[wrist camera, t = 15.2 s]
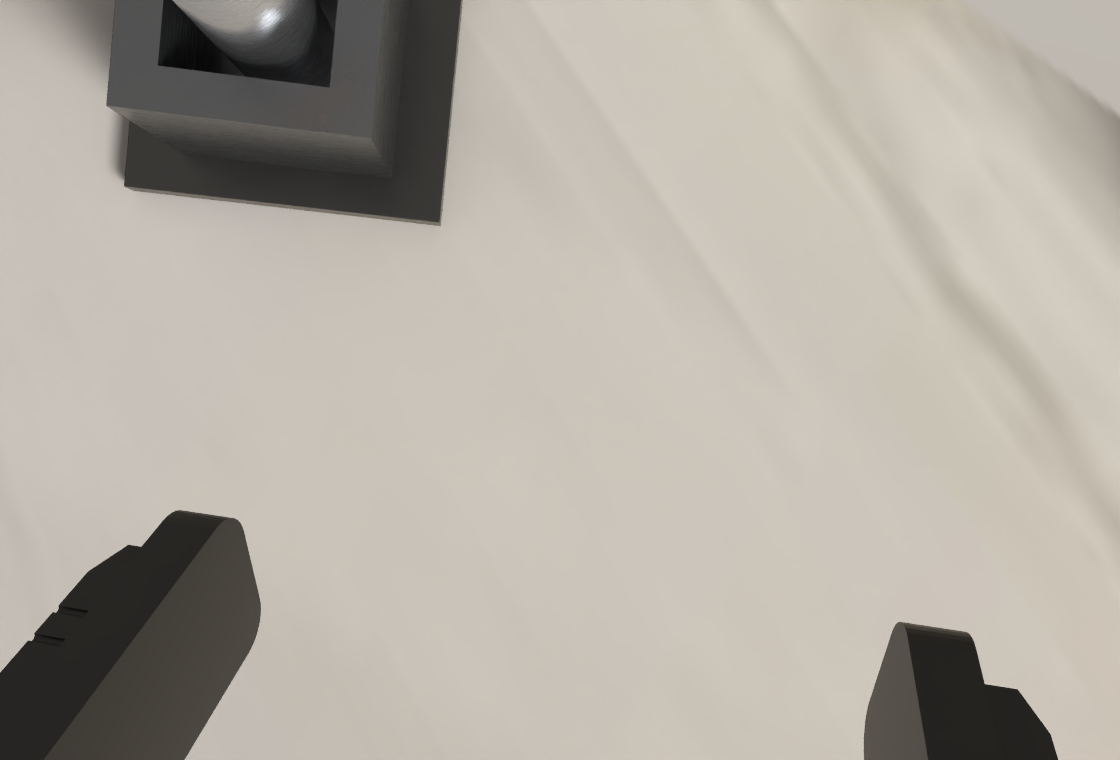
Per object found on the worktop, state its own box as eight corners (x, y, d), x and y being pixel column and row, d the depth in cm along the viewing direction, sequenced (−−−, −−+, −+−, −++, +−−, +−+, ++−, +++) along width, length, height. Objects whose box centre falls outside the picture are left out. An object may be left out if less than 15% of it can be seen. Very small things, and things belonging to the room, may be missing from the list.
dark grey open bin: (467, -49, 36) (464, -159, 28) (440, 225, 36) (430, 193, 28) (158, -93, 35) (64, -221, 27) (134, 190, 35) (34, 146, 27)
